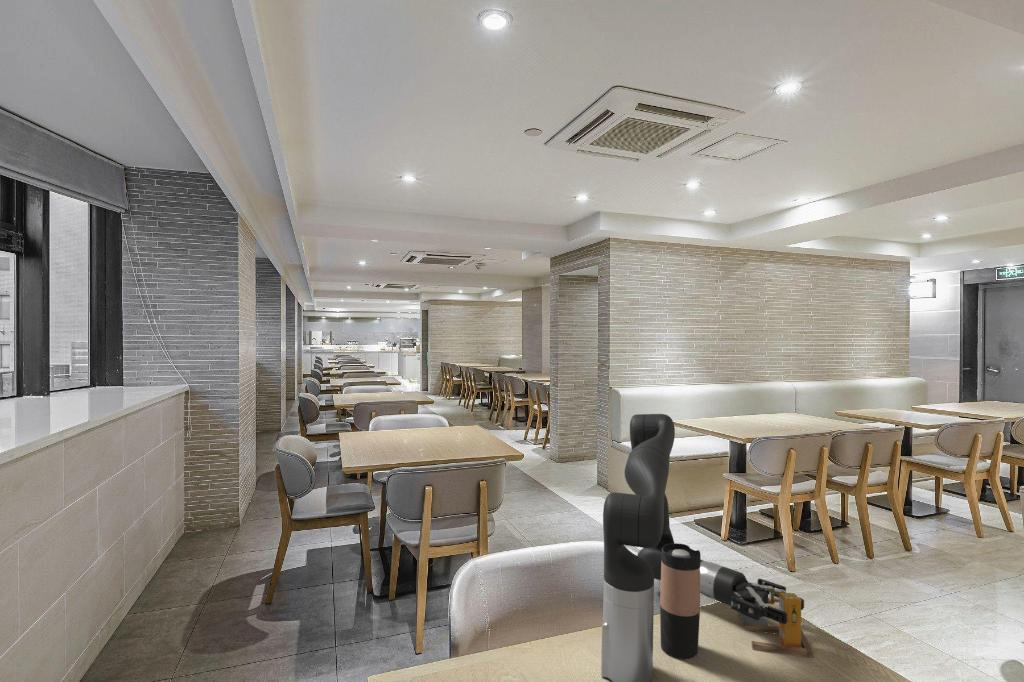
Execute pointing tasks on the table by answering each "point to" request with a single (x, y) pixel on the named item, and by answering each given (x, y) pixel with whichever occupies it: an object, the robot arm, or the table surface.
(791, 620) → the supplement box
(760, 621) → the coaster
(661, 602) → the travel mug
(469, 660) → the table surface
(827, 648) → the table surface
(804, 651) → the wooden u-shaped frame
